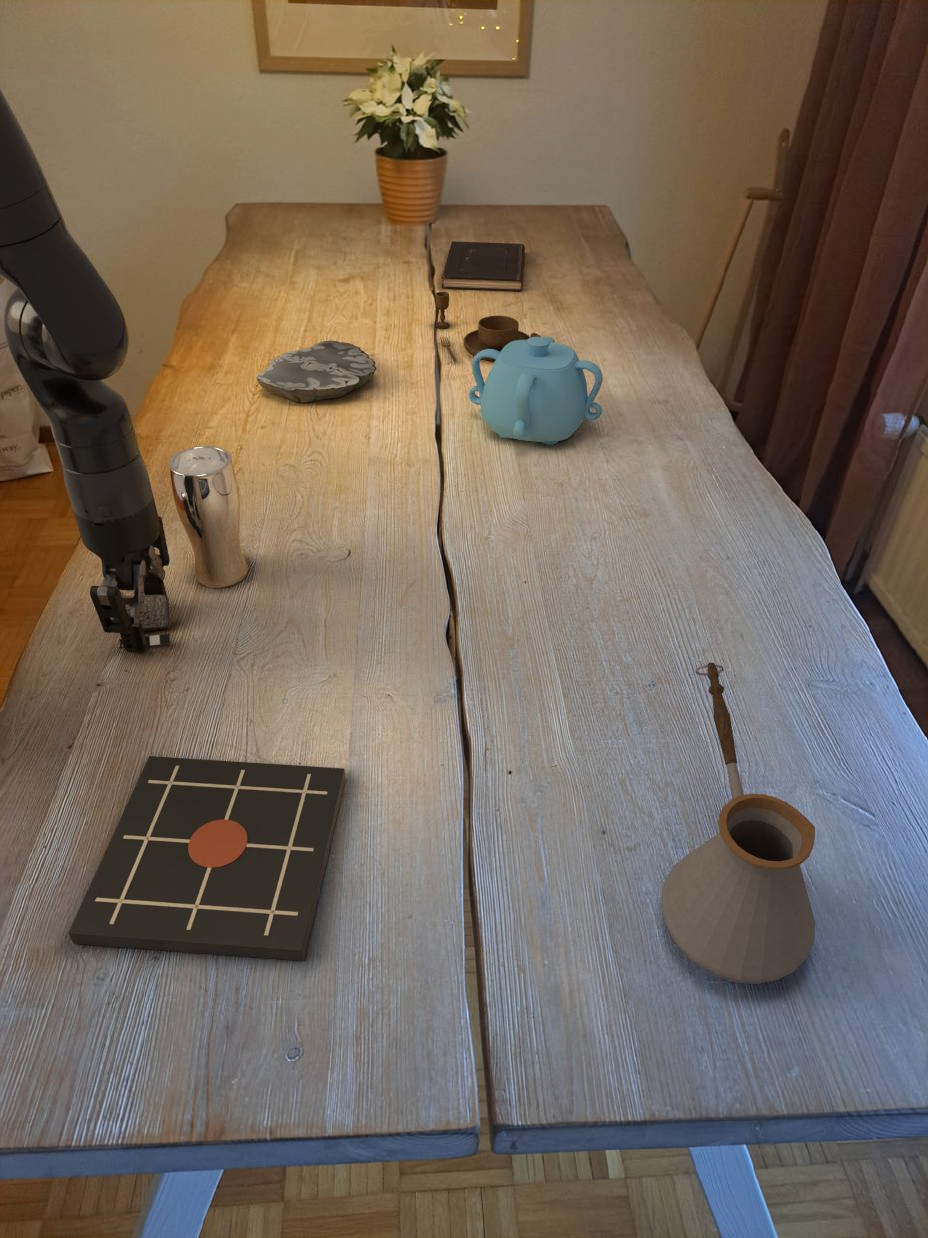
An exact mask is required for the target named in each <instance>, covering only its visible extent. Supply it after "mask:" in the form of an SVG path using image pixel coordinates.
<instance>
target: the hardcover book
mask: <svg viewBox="0 0 928 1238" xmlns="http://www.w3.org/2000/svg"><path fill="white" fill-rule="evenodd" d="M525 252H526V246H525V244H524V243H513V242H512V243H511V242H483V241H460V240H459V241H458V240H457V241H456V240H452V241H451V242H450V247H449V249H448V253H447V257H446V259H445V260H446V261H445V264H444V268H443V271H442V275H441V279H442V285H441V289H442V290H443V289H444V290H445V289H446V290H472V291H496V292H498V291H499V292H520V291H522V289H523V279H524V266H525Z"/></svg>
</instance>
